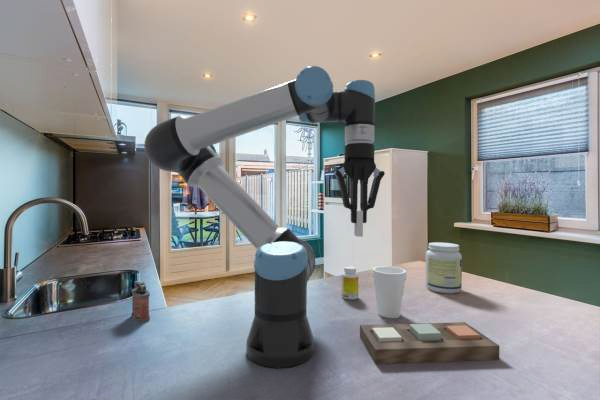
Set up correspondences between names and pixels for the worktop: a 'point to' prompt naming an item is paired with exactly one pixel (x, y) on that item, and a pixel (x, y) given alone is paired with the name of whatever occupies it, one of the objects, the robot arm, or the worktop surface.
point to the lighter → (140, 303)
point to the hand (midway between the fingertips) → (358, 235)
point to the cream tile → (386, 334)
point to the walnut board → (427, 346)
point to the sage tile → (424, 332)
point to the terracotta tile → (462, 332)
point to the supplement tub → (444, 268)
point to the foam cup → (389, 290)
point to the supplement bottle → (349, 283)
